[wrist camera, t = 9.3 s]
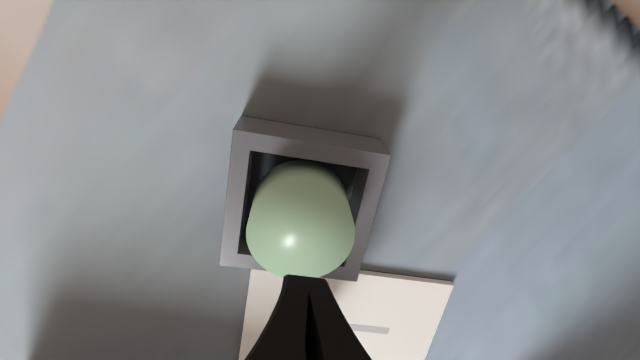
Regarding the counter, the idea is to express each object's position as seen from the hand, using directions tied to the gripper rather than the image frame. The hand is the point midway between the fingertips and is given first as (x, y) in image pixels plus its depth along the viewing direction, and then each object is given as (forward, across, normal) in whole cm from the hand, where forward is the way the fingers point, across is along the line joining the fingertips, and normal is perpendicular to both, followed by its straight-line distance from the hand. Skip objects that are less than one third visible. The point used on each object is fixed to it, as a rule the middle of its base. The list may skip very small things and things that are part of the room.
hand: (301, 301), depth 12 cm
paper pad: (+8, -4, +9) cm, 13 cm away
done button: (+7, 0, 0) cm, 7 cm away
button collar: (+8, 0, 0) cm, 8 cm away
